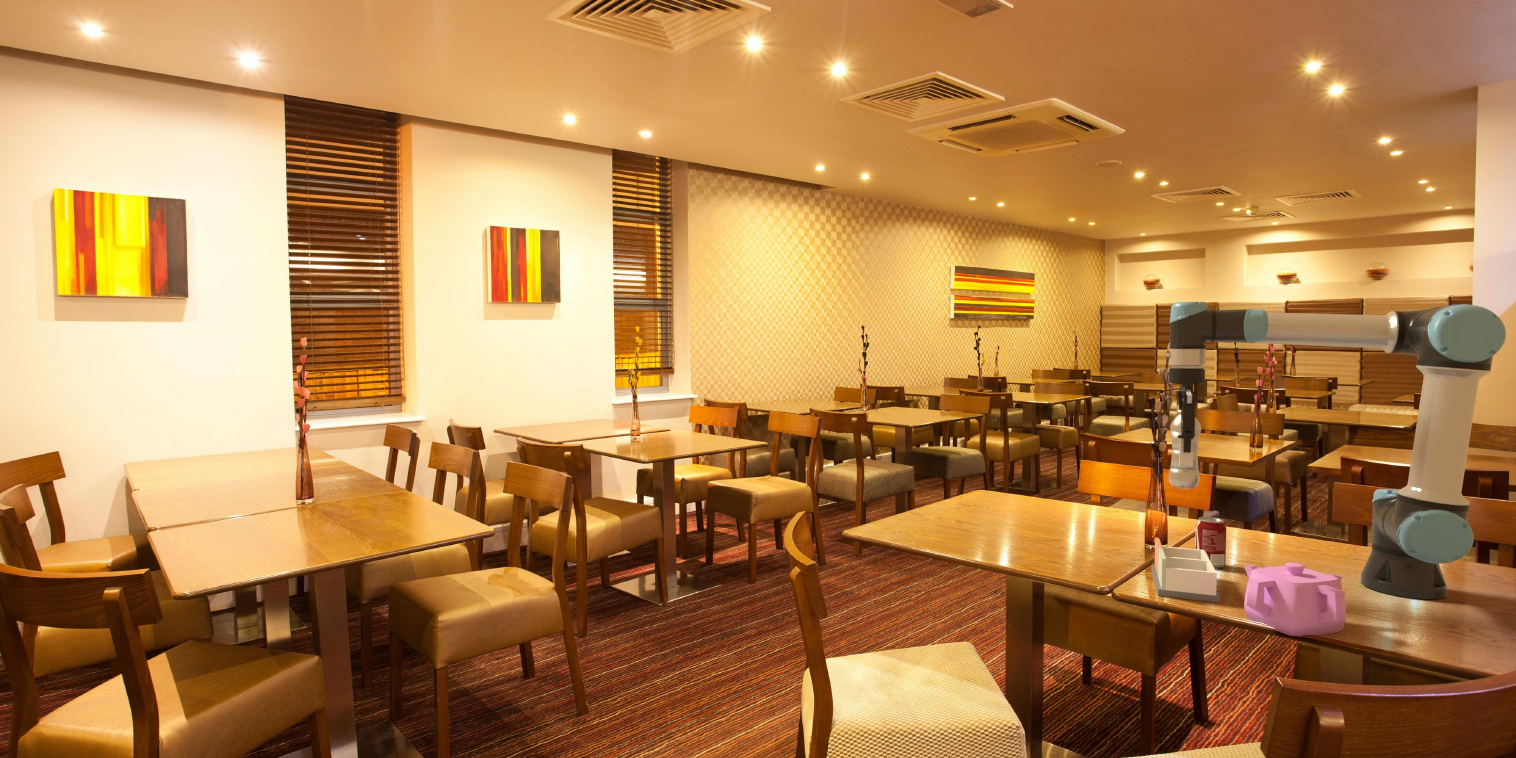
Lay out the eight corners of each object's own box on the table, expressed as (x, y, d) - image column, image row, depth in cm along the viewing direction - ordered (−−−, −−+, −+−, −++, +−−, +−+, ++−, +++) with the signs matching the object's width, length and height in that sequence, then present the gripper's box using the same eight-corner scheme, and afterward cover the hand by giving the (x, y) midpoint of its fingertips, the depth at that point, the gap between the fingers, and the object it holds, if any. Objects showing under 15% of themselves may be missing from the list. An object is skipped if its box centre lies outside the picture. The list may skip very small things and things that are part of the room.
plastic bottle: (1161, 486, 184) (1163, 404, 183) (1183, 484, 186) (1185, 403, 185) (1183, 491, 178) (1186, 406, 176) (1206, 489, 180) (1208, 405, 178)
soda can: (1229, 570, 190) (1231, 522, 190) (1200, 568, 192) (1201, 521, 191) (1219, 562, 197) (1220, 516, 196) (1190, 561, 198) (1191, 515, 198)
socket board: (1206, 576, 185) (1207, 542, 185) (1219, 602, 166) (1220, 564, 166) (1151, 570, 190) (1152, 537, 190) (1157, 595, 171) (1158, 558, 171)
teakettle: (1245, 629, 151) (1247, 568, 150) (1242, 604, 166) (1243, 548, 165) (1353, 647, 142) (1355, 581, 142) (1339, 618, 157) (1341, 559, 156)
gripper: (1165, 365, 190) (1163, 457, 192) (1172, 368, 173) (1170, 469, 174) (1199, 366, 187) (1197, 459, 189) (1211, 368, 170) (1208, 471, 171)
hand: (1184, 463), depth 181 cm, fingers closed on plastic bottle, 6 cm apart
